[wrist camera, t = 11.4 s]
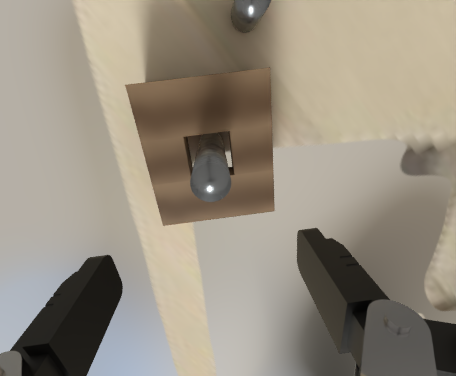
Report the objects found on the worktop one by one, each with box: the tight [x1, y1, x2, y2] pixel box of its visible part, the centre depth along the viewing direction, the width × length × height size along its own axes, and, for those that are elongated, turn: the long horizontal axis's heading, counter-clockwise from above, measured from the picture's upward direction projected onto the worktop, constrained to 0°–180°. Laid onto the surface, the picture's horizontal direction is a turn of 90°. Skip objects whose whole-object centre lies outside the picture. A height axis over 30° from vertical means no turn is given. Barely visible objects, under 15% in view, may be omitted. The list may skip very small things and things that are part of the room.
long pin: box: [190, 133, 231, 202], centre depth 24 cm, size 3×3×15 cm
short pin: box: [231, 0, 271, 32], centre depth 23 cm, size 3×3×6 cm
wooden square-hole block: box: [125, 68, 274, 226], centre depth 28 cm, size 16×14×7 cm
